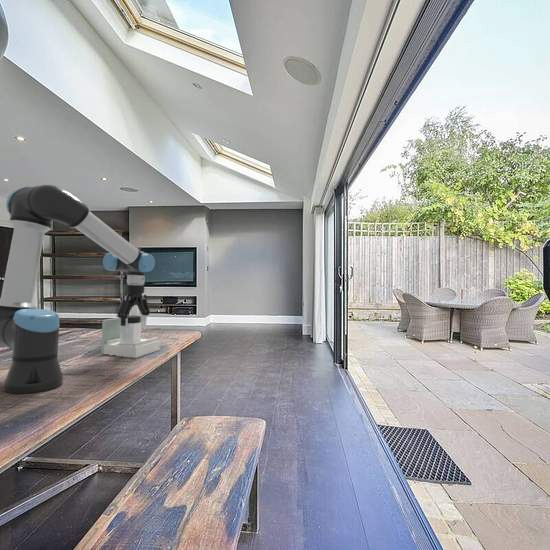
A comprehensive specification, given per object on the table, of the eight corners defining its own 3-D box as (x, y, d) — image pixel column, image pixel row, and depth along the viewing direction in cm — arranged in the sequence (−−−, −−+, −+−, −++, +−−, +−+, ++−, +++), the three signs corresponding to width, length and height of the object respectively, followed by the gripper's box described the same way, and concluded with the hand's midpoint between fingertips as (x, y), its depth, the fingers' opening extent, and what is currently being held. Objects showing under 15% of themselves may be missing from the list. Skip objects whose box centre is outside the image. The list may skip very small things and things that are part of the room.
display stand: (135, 357, 148) (137, 322, 148) (101, 354, 152) (102, 320, 153) (159, 349, 166) (160, 318, 166) (127, 346, 170) (129, 316, 170)
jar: (142, 343, 156) (143, 317, 156) (123, 345, 151) (124, 317, 151) (136, 340, 163) (137, 315, 163) (117, 342, 158) (119, 315, 158)
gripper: (124, 285, 146) (122, 335, 146) (158, 284, 170) (156, 328, 170) (109, 284, 148) (107, 334, 148) (145, 284, 172) (143, 326, 172)
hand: (133, 331), depth 159 cm, fingers open, 13 cm apart
